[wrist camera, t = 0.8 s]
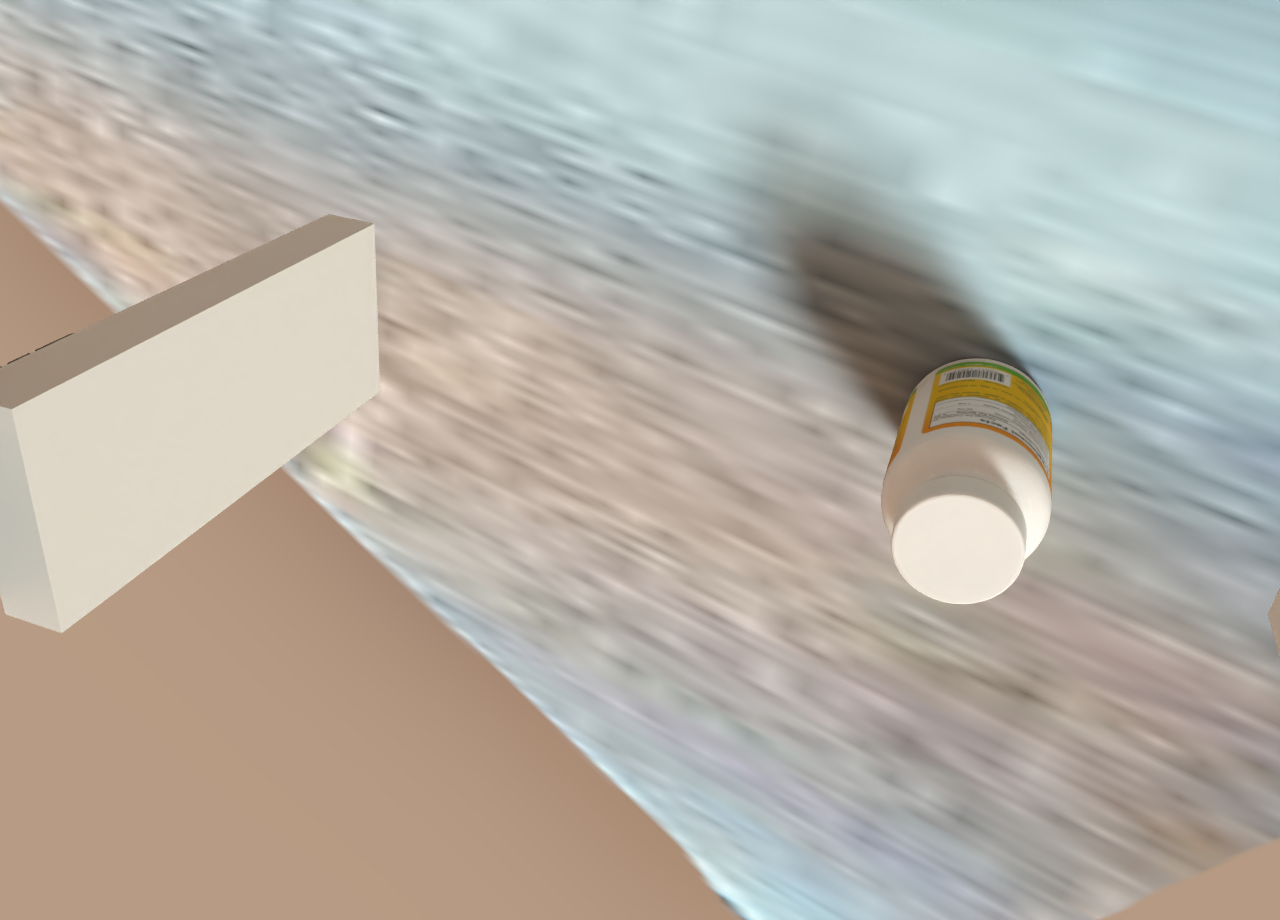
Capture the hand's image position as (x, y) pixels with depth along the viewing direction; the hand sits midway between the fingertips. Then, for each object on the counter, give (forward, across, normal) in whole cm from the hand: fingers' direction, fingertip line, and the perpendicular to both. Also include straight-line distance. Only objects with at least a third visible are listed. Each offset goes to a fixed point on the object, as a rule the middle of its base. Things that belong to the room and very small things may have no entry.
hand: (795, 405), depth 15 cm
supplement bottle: (+26, +4, -12) cm, 29 cm away
